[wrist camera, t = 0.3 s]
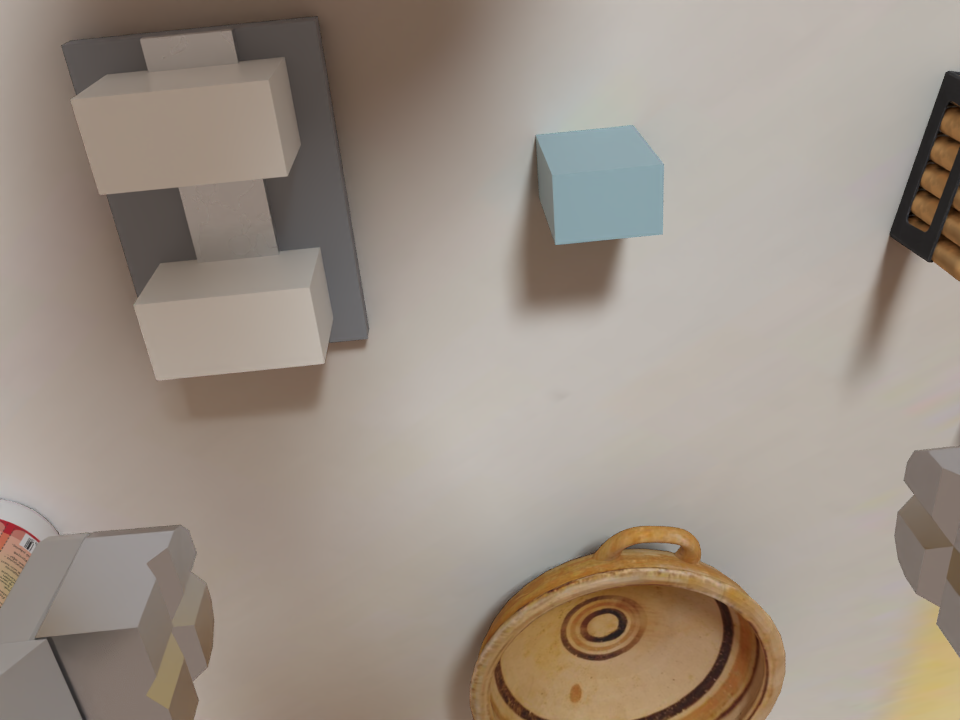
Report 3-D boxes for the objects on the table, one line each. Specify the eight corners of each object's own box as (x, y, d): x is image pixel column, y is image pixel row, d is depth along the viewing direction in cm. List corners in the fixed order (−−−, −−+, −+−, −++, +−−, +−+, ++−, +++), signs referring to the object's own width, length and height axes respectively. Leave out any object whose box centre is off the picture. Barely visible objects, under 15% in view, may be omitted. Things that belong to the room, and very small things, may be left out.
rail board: (70, 40, 50) (18, 67, 44) (317, 16, 51) (302, 39, 44) (162, 349, 60) (130, 408, 54) (368, 328, 60) (362, 385, 54)
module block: (535, 134, 55) (552, 175, 48) (633, 125, 55) (663, 164, 48) (539, 197, 57) (555, 245, 50) (633, 188, 57) (662, 234, 50)
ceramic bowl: (482, 464, 67) (489, 535, 60) (794, 478, 69) (836, 548, 62) (451, 730, 81) (454, 812, 74) (710, 734, 83) (737, 814, 76)
